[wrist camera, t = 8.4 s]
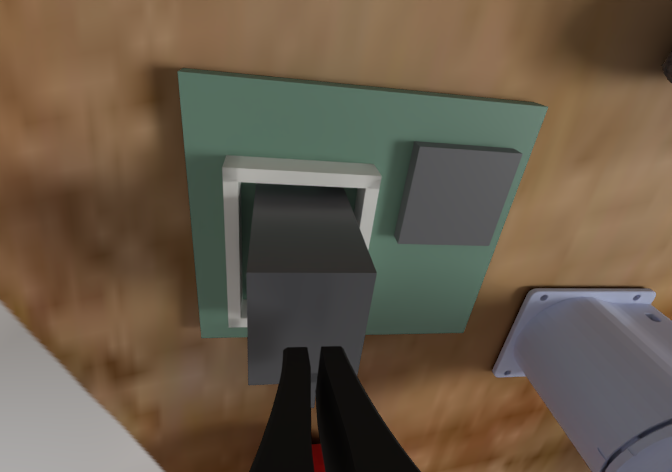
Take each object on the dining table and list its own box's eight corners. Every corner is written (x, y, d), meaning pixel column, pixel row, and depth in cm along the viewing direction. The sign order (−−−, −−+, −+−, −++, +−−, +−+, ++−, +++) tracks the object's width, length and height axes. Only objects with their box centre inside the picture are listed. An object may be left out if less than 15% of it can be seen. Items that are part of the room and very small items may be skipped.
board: (535, 102, 18) (570, 114, 16) (456, 321, 25) (473, 350, 23) (182, 67, 15) (168, 77, 13) (204, 325, 22) (196, 358, 20)
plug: (343, 185, 18) (377, 273, 12) (329, 294, 21) (351, 405, 15) (256, 181, 17) (246, 272, 11) (256, 294, 20) (248, 411, 14)
